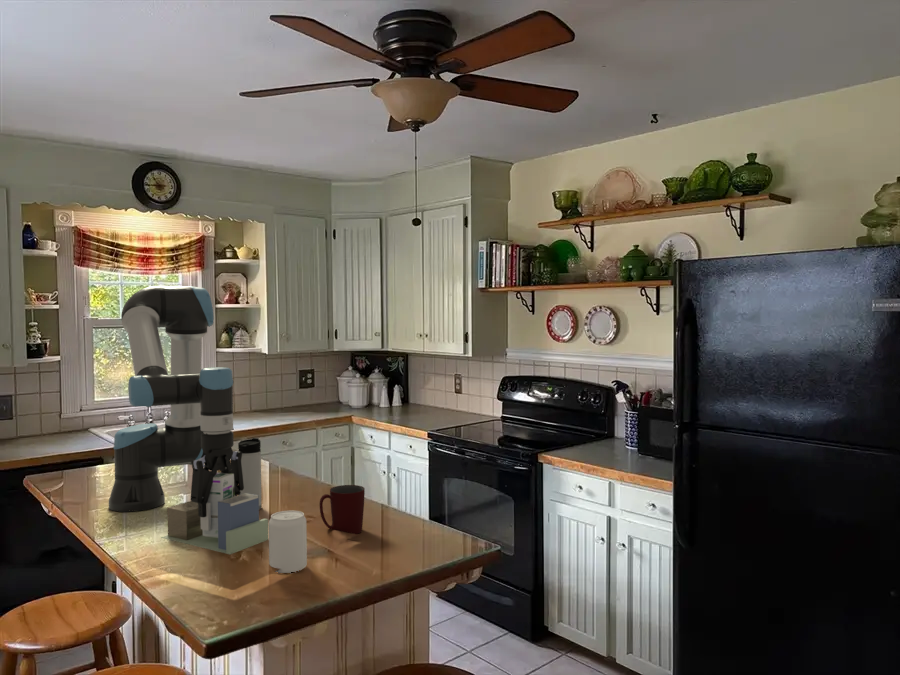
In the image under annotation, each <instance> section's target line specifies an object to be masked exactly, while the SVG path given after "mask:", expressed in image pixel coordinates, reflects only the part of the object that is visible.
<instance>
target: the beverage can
mask: <svg viewBox="0 0 900 675" xmlns="http://www.w3.org/2000/svg"><path fill="white" fill-rule="evenodd" d="M307 544H308V543H307V518H306V517H305V513H304V512H303V511H301V510H282V511H277V512H274V513H272V514H271V515H270V519H268V563H269V566H270V567H271V568H275V569H277V570H275V571H274V573H276V572H278V573H277V574H280V573H290V574H292V573H291V572H295V573H297V572H296V571H298V572H300V571H301V570H303V569H304V568H306V567H307V565H308V557H307V556H308V552H307V551H308V549H307V547H308V546H307ZM299 570H300V571H299Z"/></svg>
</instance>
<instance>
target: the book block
mask: <svg viewBox="0 0 900 675" xmlns="http://www.w3.org/2000/svg"><path fill="white" fill-rule="evenodd" d="M258 520H260V509H259V495H255V494H249V493H245V494H242V495H237V496H235V497H232V498H228V499H225V500H222V501H218V548H219V549H223V550H226V532H227V531H230V530H232V529H235V528H238V527H241V526H244V525H247V524H250V523H253V522H256V521H258Z"/></svg>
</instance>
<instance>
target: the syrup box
mask: <svg viewBox="0 0 900 675" xmlns="http://www.w3.org/2000/svg"><path fill="white" fill-rule="evenodd" d="M232 497H235V495H234V474H233V473H230V474H227V473H221V471H217V474H216V475H215V476H214V477H213V483H212V487H211V491H210V495H209V498H208V503H211V530H210V531H207V530H202V531H203V536H206V537H217V538H218V501H222V500H225V499H228V498H232Z"/></svg>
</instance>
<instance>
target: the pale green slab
mask: <svg viewBox="0 0 900 675" xmlns="http://www.w3.org/2000/svg"><path fill="white" fill-rule="evenodd" d="M160 538H161V539H165V540H169V541H174V542H177V543H182V544H185V545H189V546H193V547H197V548H201V549H202V548H203V549H205V550H210V551H215V552H219V553H222V554H225V555H226V554H227V555H233V554H235V553H237V552H240V551H243V550H245V549H247V548H251V547H253V546H256V545H258V544H262V543H263V542H267V541H269V519H268V518H262V519H259V520H258V521H256V522H253V523H250V524H247V525H244V526H241V527H238V528H235V529H232V530H230V531H227V532H226V550H223V549H219V548H218V538H217V537H206V536H203V535H201V536H198V537H195V538H192V539H189V540H184V539H180V538H176V537H171V536H168V534H167V535H165V536H161V537H160Z"/></svg>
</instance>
